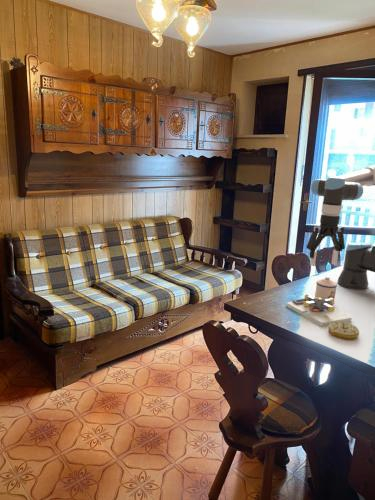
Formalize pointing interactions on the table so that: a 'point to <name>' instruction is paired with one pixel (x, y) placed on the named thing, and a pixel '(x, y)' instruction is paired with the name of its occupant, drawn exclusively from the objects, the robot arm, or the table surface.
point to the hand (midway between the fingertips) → (323, 264)
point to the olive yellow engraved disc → (344, 330)
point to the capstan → (318, 304)
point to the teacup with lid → (325, 288)
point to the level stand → (318, 313)
